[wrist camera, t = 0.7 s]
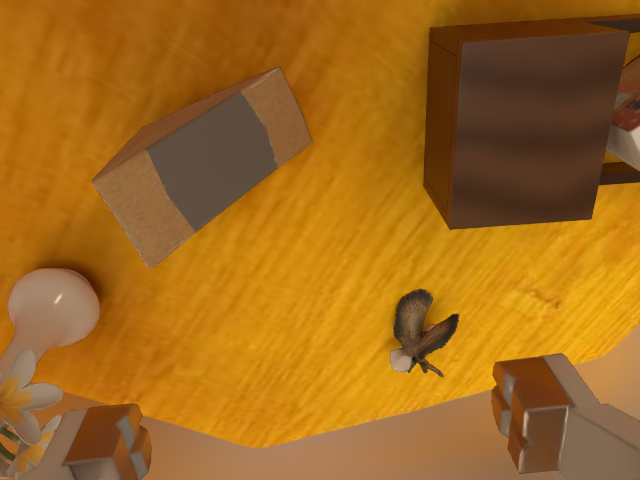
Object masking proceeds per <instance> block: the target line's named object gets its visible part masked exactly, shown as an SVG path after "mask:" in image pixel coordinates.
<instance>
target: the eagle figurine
mask: <svg viewBox="0 0 640 480" xmlns="http://www.w3.org/2000/svg"><path fill="white" fill-rule="evenodd" d="M432 301H433V297H431V296H430V293H427V291H426V290H422V289H419V290H418V291H413V292H412V293H411V295H409V294H407V296H406V297H403V298H402V300H401V301H400V303H399V304H398V307H397V313H396V320H395V326H394V328H393V329H394V336H395V337H396V339H397V340H398V341H399V342H400V343H401V345H402V346H403V348H399V349H395V350H392V351H391V353H390V364H391V366H392V368H393V369H394V370H395V371H398V372H406V371H408V373H410V372H411V370H412V368H413V367H414V366H415V365H416V363H418V364H420V366H421V368H422V370H423V372H424V373H427V372H428V371H427V369H430V370H432V371H434V372H436V373H437V374H438V375H439V376H440V377H444V375H443V374H442V372H441V371H440V370H439V369H437V368H435V367H434V366H433V365H430V364H429V362H428V361H427V360H426V359H425V356H426V355H428V353H432V352H433V351H434V350H437V349H438V348H443V346H445V345H446V343H447V342H448V340H449V339H450V338H451V337H452V335H453V334H454V332H455V331H456V328H457V326H458V325H457V323H458V321H459V320H458V318H459V314H458V315H457V314H455V315H454V314H452V315H451V316H450V317H449V318H447V319H446V320H444V321H442V322H440V323H438V324H436V325H434V324H433V325H429V326H428V327H427V328H426V329H425V330H424V331H423V323H424V319H425V317H426V313H427V311H428V309H429V307H430V305H431V303H432Z"/></svg>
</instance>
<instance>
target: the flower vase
mask: <svg viewBox="0 0 640 480" xmlns="http://www.w3.org/2000/svg"><path fill="white" fill-rule="evenodd" d="M7 305H8V315H9V317H10V320H11V322H12V325H13V326H14V327H15V333H14V336H13V338H12V340H11V342H10V343H9V345H8V347H7V348H6V350H5V351H4V353H3V354H2V356H1V358H0V433H1V434H3V435H5V436H6V437H8V438H9V439H11V440H12V441H14V442H15V443H17V444H18V445H19V450H18V453H17V454H14V453H10V452H9V451H8V450H7V449H5V448H4V446H3V445H2V444H1V443H0V478H12V477H14V480H18V479H19V478H20V477H21V476H23V475H24V474H25V473H26V472H28V471H29V470H33V469H36V468H37V467H38V465H39V463H40V461H41V459H42V457H43V455H44V453H45V451H46V449H47V446H48V445H49V443H50V441H51V439H52V437H53V435H54V433H55V431H56V428H57V427H58V425H59V423H60V421H61V415H57V416H55V417H54V418H52V419H51V420H50V421H49V422H48V423H47V424H46V425H45V426H44V427H43V428H42V429H40V425H39V422H38V420H37V419H36V417H35V416H34V415H33V414H32V413H30V412H27V411H29V410H36V409H42V408H47V407H50V406H53V405H55V404H56V403H58V402H59V401H60V400H61V399H62V397H63V391H62V389H61V388H60V387H58V386H57V385H54V384H50V383H37V384H32V385H29V386H26V387H24V386H25V385H27V384H28V383H29V382H30V380H31V379H32V377H33V374H34V372H35V367H36V365H37V364H38V362H39V361H40V360H41V358H42V357H43V356H44V355H45V353H46V352H47V351H48V350H50V349H51V348H52V347H62V346H67V345H70V344H74V343H76V342H78V341H80V340H81V339H83V338H85V337H86V336H87V335H88V334H89V333H90V332H91V331H92V330H93V329H94V328H95V326H96V324H97V322H98V319H99V317H100V303H99V300H98V296H97V294H96V293H95V291H94V290H93V288H92V286H91V284H90V283H89V281H88V280H87V279H86V278H85V277H84V276H83V275H81V274H79V273H78V272H76V271H73V270H70V269H64V268H58V269H57V268H44V269H38V270H35V271H32V272H29V273H27V274H26V275H24V276H23V277H21V278H20V279H18V281H17V282H16V283H15V285H14V286H13V287H12V289H11V291H10V295H9V298H8V302H7ZM23 387H24V388H23ZM9 425H10V426H11V427H12V429H13V430H14V432H15V433H16V434H17V435H18V436H17V435H15V434H14V433H12V432H10V431H9V430H7V427H8V426H9ZM5 461H12V463H11V465H9V464H8V463H6V462H5Z"/></svg>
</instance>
